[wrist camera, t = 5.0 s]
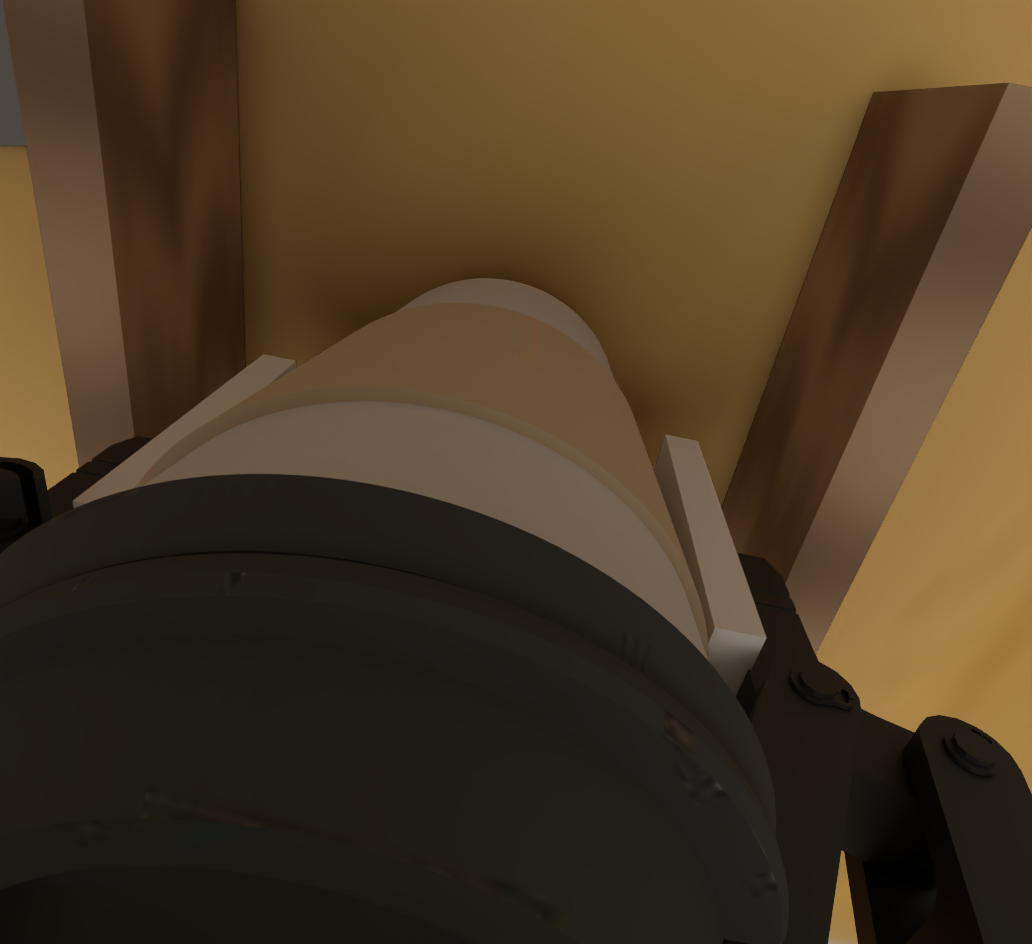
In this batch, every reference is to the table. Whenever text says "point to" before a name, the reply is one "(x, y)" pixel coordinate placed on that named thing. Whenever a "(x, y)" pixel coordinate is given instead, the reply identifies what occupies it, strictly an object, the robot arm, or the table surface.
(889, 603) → the table surface
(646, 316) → the table surface
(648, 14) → the table surface
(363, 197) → the table surface
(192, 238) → the brown rectangular open frame
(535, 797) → the coffee cup
